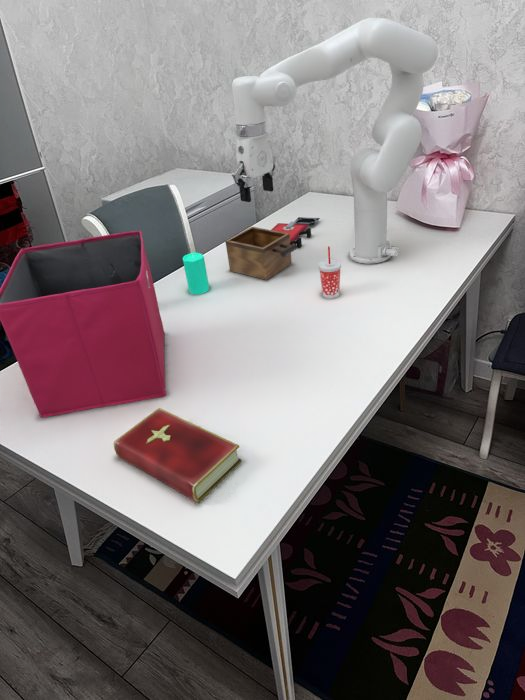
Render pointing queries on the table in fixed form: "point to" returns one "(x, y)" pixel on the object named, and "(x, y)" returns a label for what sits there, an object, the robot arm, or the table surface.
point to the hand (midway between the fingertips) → (257, 195)
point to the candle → (196, 273)
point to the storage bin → (85, 323)
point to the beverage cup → (330, 277)
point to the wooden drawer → (259, 252)
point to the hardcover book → (178, 453)
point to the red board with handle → (296, 229)
